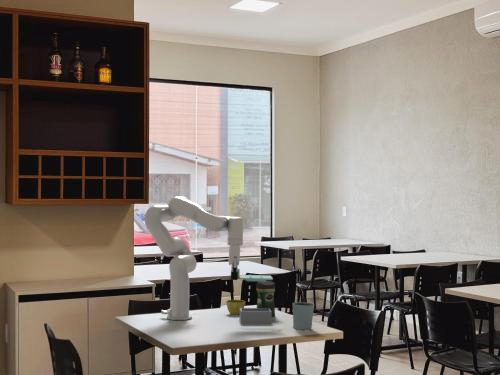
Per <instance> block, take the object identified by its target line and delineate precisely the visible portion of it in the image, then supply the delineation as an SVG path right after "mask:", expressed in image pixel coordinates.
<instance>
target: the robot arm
mask: <svg viewBox="0 0 500 375" xmlns="http://www.w3.org/2000/svg"><path fill="white" fill-rule="evenodd" d="M180 216H181V217H184V218H186V219H188V220H190V221H193V222H194V223H196V224H197V225H199V226H200V227H203V228H204V229H207V230H209V231H213V232H217V233H218V232H227V246H229V247H228V265H229V266H231V268H230V269H232V272H231V271H230V280H231V281H237V280H238V279H239V278H238V272H237V269H239V268H238V267H239V266H240V261H241V246H243V244H244V243H243V241H244V240H243V239H244V219H243V217H241V216H226V215H215V214H212V213H210V212H207V211H206V210H204V209H203V207H202V206H201V205H200V204H198V203H195V202H193V201H191V200H190V199H189V197H187V196H173V197H172V198H171V199H170V200H169V202H168V203H166V204H155V205H152V206H150V207H149V208H148V209H147V210H146V212H145V214H144V223H145V224H144V225H145V227H146V229H147V230H148V232H149V234H150V235H151V237H152V238H153V240H154V241H155V243H156V245H157V247H158V248H159V250H160V251H161V253H162V254H163V255H164V256H165V257H169V258H170V257H173V258H172V259H171V260H170V262H169V267H168V268H169V275H170V296H169V297H170V298H169V299H170V301H169V302H170V306H169V308H168V309H166V310H163V309H161V315H167V316H166V318H167V320H170V321H171V320H173V321H186V320H190V319H192V318H193V315H191V314H190V277H189V273H191V272H194V271H195V270H196V267H197V265H198V264H197V260H196V257H195V255H194V254H193V253H192V250H190V247H189V246H188V244H187V243H186V242H185V240H183V239H182V238H180V237H177V236H175V237H174V236H172V234H171V232H170V231H169V229H168V228H167V227H166V226H165V225H164V224H163V222H168V221H171V220H173V219H175V218H178V217H180Z"/></svg>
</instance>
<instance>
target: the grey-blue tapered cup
mask: <svg viewBox="0 0 500 375" xmlns="http://www.w3.org/2000/svg"><path fill="white" fill-rule="evenodd" d="M314 310H315V304H314V303H311V302H305V301H303V302H301V301H300V302H298V301H297V302H292V320H293V322H292V323H293V327H292V329H295V330H302V331H303V332H304V331H305V330H309V331H311V330H312V329H313V328H312V327H313V326H312V325H313V317H314ZM302 331H301V332H302ZM305 332H306V331H305Z"/></svg>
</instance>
